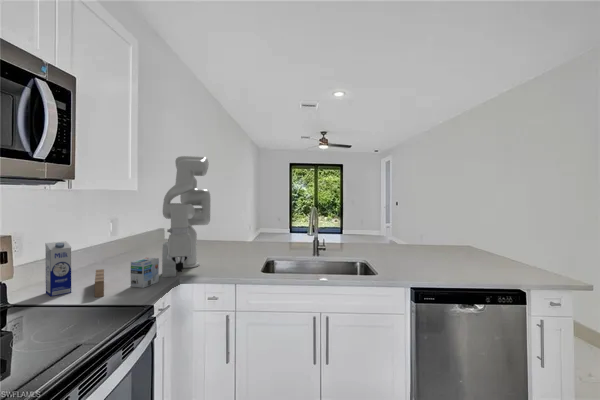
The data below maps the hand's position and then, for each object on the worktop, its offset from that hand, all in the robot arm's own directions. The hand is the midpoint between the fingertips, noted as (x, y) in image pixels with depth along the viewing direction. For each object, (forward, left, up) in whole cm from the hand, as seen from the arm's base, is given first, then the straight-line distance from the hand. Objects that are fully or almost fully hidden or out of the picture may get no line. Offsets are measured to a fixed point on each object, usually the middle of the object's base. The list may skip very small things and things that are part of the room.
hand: (179, 271), depth 154 cm
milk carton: (-2, -45, -4) cm, 46 cm away
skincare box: (-12, -2, -4) cm, 13 cm away
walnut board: (0, -31, -4) cm, 32 cm away
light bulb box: (0, -14, -4) cm, 15 cm away
